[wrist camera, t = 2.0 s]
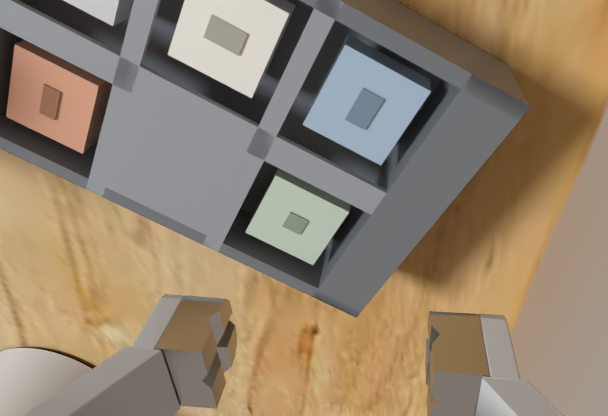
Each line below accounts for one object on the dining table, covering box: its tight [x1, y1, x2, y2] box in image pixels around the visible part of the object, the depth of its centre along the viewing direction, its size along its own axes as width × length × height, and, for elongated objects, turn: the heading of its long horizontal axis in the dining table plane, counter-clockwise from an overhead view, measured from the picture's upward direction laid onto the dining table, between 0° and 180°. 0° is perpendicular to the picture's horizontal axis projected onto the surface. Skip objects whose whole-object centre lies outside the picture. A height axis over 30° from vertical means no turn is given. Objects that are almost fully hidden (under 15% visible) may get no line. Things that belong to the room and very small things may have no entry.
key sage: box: [245, 168, 350, 265], centre depth 26 cm, size 4×4×2 cm
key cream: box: [168, 0, 296, 98], centre depth 21 cm, size 4×4×2 cm
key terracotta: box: [6, 40, 112, 154], centre depth 24 cm, size 4×4×2 cm
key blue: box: [303, 35, 431, 165], centre depth 22 cm, size 4×4×2 cm
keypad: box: [0, 0, 530, 317], centre depth 24 cm, size 14×24×5 cm, turn 64°
